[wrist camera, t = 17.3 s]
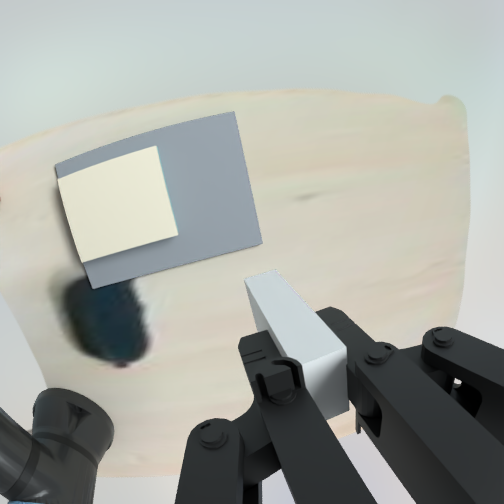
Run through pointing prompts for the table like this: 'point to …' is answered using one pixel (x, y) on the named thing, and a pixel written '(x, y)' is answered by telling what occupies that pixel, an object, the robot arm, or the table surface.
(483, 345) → the robot arm
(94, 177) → the board
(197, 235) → the mat
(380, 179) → the table surface
